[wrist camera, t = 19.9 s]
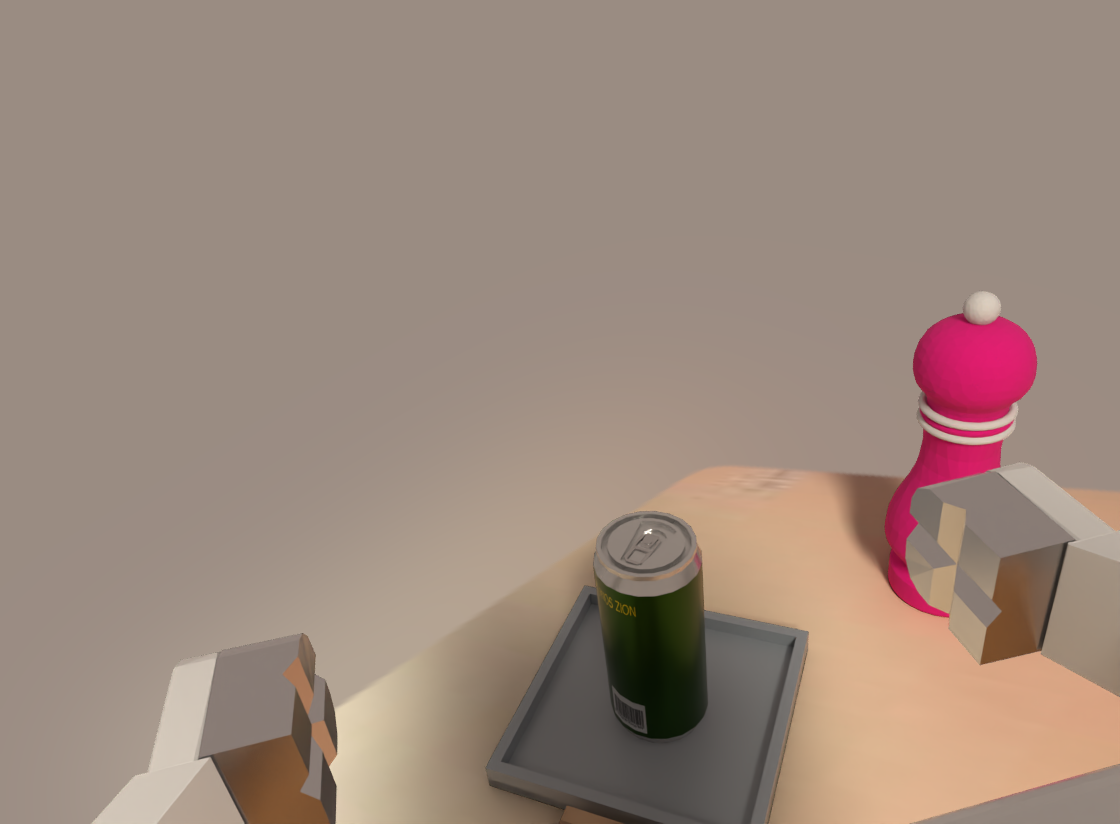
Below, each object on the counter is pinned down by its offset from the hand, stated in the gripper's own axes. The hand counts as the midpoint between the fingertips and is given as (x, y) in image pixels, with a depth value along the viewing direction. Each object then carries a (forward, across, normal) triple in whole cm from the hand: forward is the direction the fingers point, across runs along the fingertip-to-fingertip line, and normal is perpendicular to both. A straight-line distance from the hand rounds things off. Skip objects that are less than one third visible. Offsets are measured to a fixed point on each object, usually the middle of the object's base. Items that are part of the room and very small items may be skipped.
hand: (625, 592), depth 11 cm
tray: (+23, -6, +32) cm, 40 cm away
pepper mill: (+27, -26, +32) cm, 50 cm away
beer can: (+23, -6, +32) cm, 40 cm away
